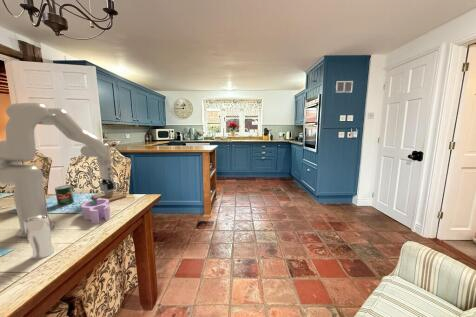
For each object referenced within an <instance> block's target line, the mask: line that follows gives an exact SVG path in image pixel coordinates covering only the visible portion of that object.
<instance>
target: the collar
mask: <svg viewBox="0 0 476 317" xmlns="http://www.w3.org/2000/svg"><path fill="white" fill-rule="evenodd" d="M107 184H108V182H103V183H102V182H100V183H99V190H100V191H101V192H102V193H104V192H108V191H112V190H115V191H117V183H116V182H115V181H113V187H114V189H111V190H108V185H107Z"/></svg>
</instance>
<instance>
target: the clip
mask: <svg viewBox="0 0 476 317" xmlns="http://www.w3.org/2000/svg"><path fill="white" fill-rule="evenodd" d="M80 207H81V214H82V220H83V219H84V220H85V221H86V220H88V221H89V220H90V222H91V224H94V225H95V224H97V225H98V224H99V223H100V218H104V221H105V222H107V221H109V220H111V206H110V202H109V200H108V199H101V198H98V199H97V200H96V205H91V201H90V200H84V201H83V203H81V205H80Z"/></svg>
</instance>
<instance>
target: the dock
mask: <svg viewBox="0 0 476 317" xmlns="http://www.w3.org/2000/svg"><path fill="white" fill-rule="evenodd" d="M98 198H101V199H108V200H109V203H111V202H112V203H113V202H115V201H117V200H120V199H121V200H122V199H124V198H127V194H125V193H124V192H123V193H122V192H120V191H117V190H112V191H108V192H102V193H98V194H94V195H91V199H93V200H95V201H97V199H98Z"/></svg>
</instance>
